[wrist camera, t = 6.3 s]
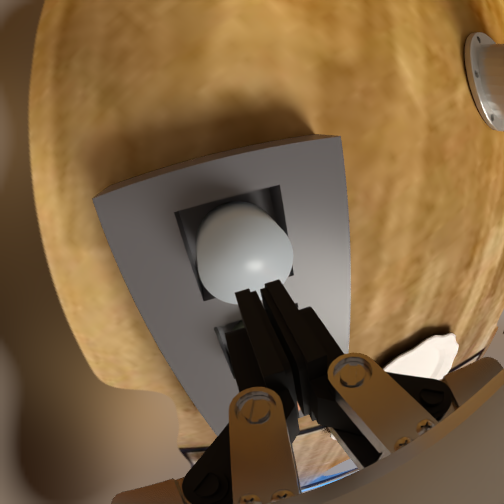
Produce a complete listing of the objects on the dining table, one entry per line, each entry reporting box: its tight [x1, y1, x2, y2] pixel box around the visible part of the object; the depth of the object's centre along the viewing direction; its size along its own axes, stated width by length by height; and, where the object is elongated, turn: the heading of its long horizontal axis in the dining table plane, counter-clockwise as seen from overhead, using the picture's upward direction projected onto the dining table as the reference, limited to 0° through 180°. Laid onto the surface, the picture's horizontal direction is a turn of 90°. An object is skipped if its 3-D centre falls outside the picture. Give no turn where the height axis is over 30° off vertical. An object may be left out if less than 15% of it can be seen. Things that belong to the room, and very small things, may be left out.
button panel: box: [92, 134, 351, 436], centre depth 21 cm, size 14×26×4 cm, turn 11°
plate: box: [330, 332, 459, 440], centre depth 35 cm, size 25×25×2 cm
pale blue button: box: [196, 201, 293, 304], centre depth 15 cm, size 5×5×3 cm
